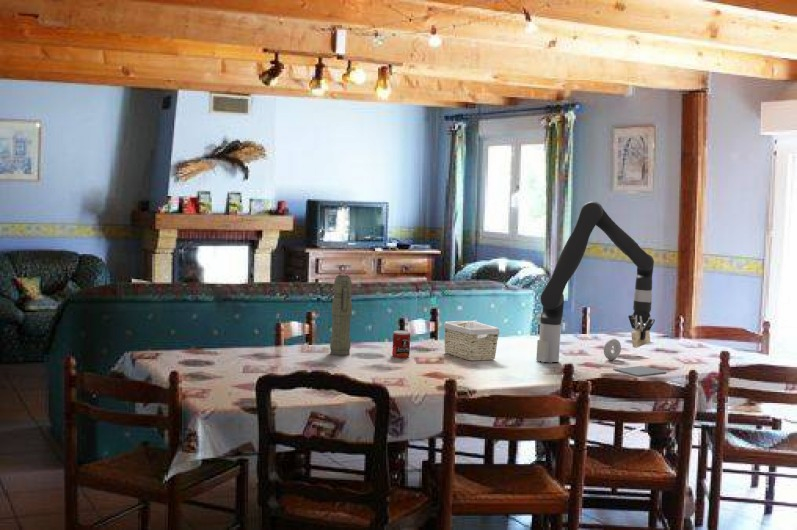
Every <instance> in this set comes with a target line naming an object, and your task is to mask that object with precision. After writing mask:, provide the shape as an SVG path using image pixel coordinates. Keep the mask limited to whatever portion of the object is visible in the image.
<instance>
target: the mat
mask: <svg viewBox="0 0 797 530" xmlns="http://www.w3.org/2000/svg"><path fill="white" fill-rule="evenodd" d="M612 370H613V371H614V370H615V372H618V371H619V373H622V372H623V374H627V375H631V376H635V377H644V376H654V375H661V374H662V373H664V374H667V371H665V370H661V369H660V370H659V369H656V368H651V367H648V366H644V365H637V366H627V367H619V368H613V369H612Z"/></svg>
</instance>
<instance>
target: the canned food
mask: <svg viewBox="0 0 797 530" xmlns="http://www.w3.org/2000/svg"><path fill="white" fill-rule="evenodd" d="M392 334H393V335H392V352H391V353H392V357H394V358H397V359H407V358H409V357H410V351H411V350H410V347H411V331H409V330H408V331H407V330H394V331H393V333H392Z"/></svg>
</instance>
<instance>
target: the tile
mask: <svg viewBox="0 0 797 530" xmlns="http://www.w3.org/2000/svg"><path fill="white" fill-rule="evenodd" d="M630 334H631V343H632V348H635V349H637V348H639V347H642V346H644V345H647V344H650V343H651V337H650V330H649V331H646V335H645V339H644V340H640V335H641V328H640V329H637V330H635V329H634V330H632V331H631V332H630Z"/></svg>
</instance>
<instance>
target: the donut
mask: <svg viewBox="0 0 797 530" xmlns="http://www.w3.org/2000/svg"><path fill="white" fill-rule="evenodd" d="M612 349H613V350H612ZM621 352H622V345H621V342H620V341H619V340H618V339H617V338H609V339H608V340H606V342H605V344H604V347H603V355H604V357H605V358H606V359H607V360H609V361H613V360H616V359H618V357H620V354H621Z"/></svg>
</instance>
